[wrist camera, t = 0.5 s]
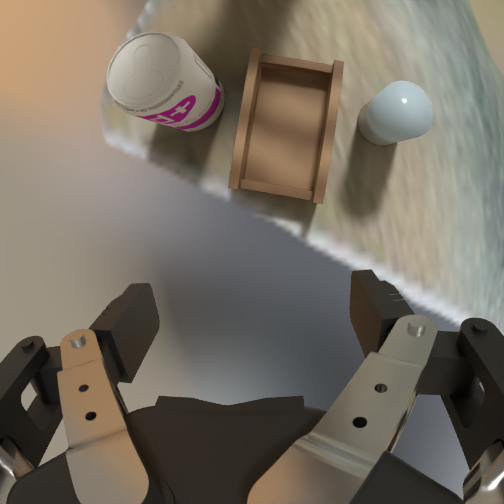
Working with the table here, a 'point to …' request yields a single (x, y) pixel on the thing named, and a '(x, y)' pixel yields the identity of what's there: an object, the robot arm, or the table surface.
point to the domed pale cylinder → (396, 114)
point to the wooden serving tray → (286, 126)
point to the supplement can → (165, 82)
